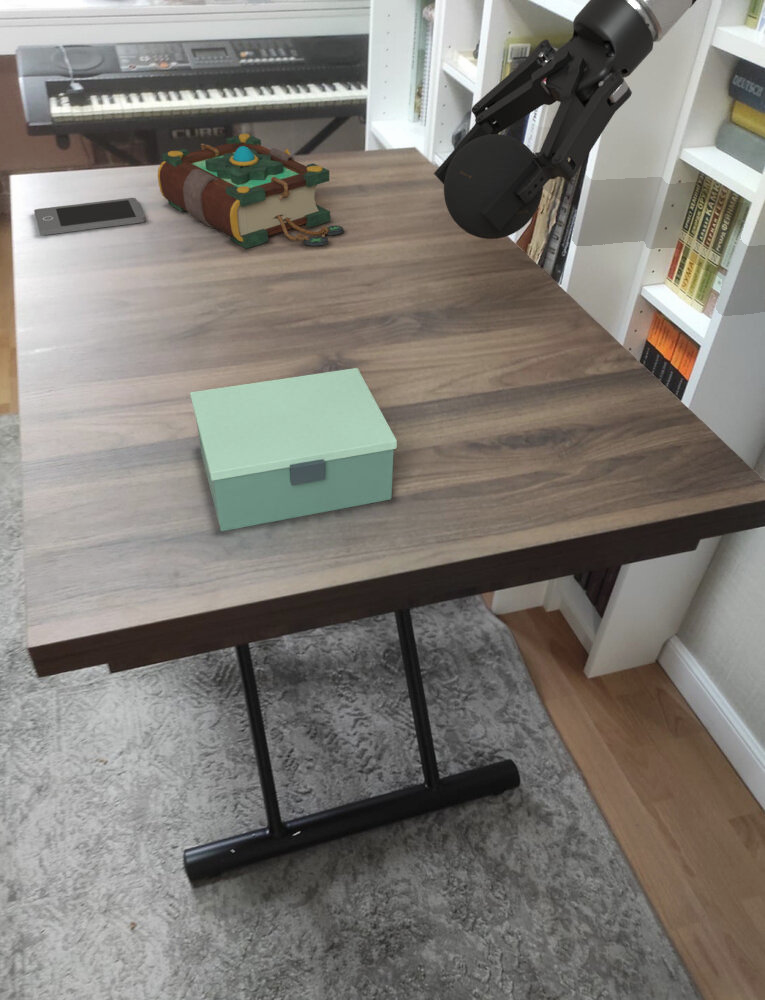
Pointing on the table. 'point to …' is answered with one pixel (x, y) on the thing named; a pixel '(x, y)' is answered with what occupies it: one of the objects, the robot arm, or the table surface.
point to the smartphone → (88, 216)
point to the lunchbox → (293, 447)
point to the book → (246, 190)
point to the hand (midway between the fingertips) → (465, 201)
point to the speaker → (486, 184)
